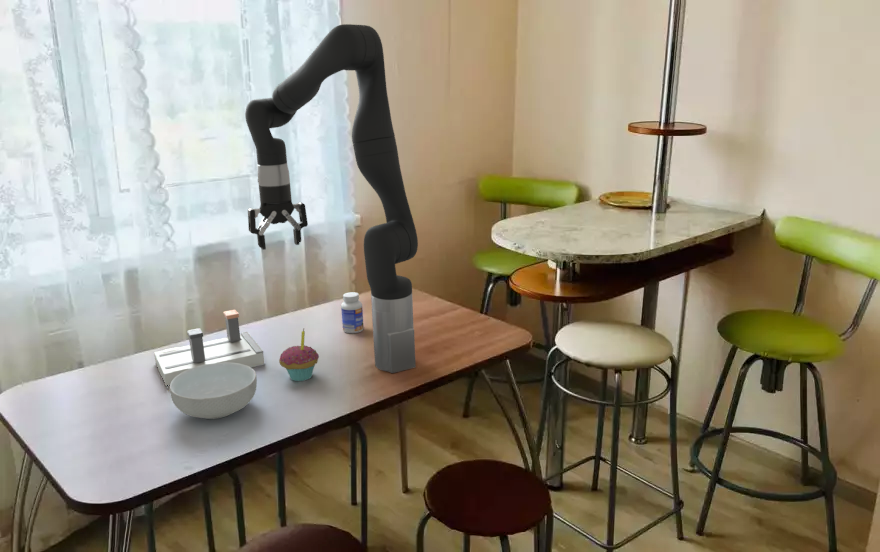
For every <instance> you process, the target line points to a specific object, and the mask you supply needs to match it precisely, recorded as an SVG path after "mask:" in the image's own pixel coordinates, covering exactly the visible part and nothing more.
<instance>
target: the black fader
mask: <svg viewBox="0 0 880 552" xmlns="http://www.w3.org/2000/svg"><path fill="white" fill-rule="evenodd" d="M186 334H187V336H188V339H189V345H190V349H191V356H192V360H193V362H194V363H199V362H204V361H205V354H204V346H203V342H204V339H203V337H204V332H203V331H202V329H201V328H200V327H197V328H193V329H188V330H186Z"/></svg>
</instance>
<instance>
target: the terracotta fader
mask: <svg viewBox="0 0 880 552" xmlns="http://www.w3.org/2000/svg"><path fill="white" fill-rule="evenodd" d="M223 316H224V319H225V327H226V329H225V330H226V335H227V336H226V337H227V338H228V340H229V341H230V342H235V341H240V340H241V339H240V335H241V333H240V323H239V318H240V315H239V312H238V311H237V310H236V309H230V310H225V311H223Z"/></svg>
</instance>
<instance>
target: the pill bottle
mask: <svg viewBox="0 0 880 552" xmlns="http://www.w3.org/2000/svg"><path fill="white" fill-rule="evenodd" d="M342 299H343V302H341V305H340V309H341V321H342V331H343V332H344V333H347V334H357V333H360V332H362V331H363V330H364V313H363V312H364V311H363V303H362V302H361V301H360V296H359V293H358V292H357V291H356V292H354V291H353V292H352V291H351V292H345V293H344V294H342Z"/></svg>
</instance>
